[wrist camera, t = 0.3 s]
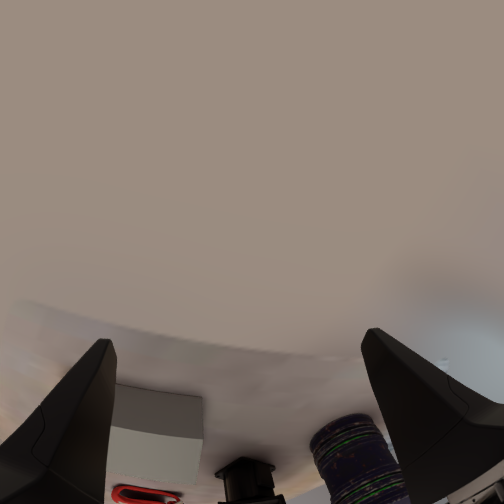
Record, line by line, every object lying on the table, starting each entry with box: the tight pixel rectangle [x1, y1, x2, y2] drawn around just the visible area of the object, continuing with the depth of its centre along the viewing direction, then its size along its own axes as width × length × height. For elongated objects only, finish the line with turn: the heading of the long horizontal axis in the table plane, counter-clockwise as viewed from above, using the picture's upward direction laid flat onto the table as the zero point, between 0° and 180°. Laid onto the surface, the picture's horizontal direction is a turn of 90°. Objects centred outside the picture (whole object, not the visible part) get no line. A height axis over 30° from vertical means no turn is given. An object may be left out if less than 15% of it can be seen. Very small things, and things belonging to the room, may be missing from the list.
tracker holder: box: [111, 486, 184, 504], centre depth 32 cm, size 12×4×10 cm
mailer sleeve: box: [106, 384, 203, 485], centre depth 25 cm, size 14×10×6 cm
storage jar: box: [310, 414, 411, 504], centre depth 27 cm, size 10×10×15 cm
